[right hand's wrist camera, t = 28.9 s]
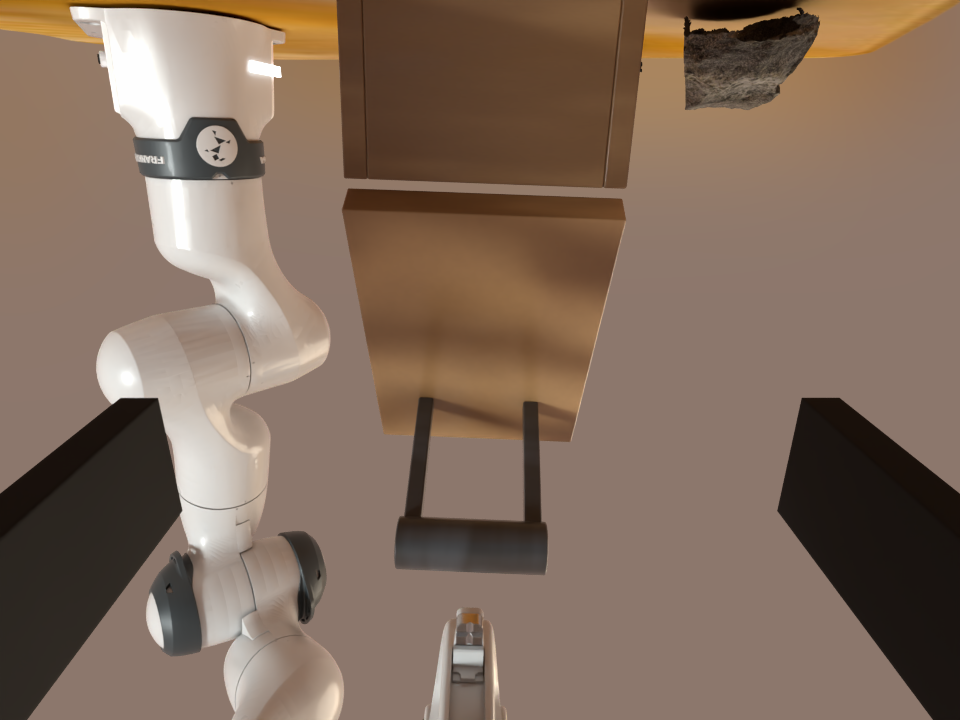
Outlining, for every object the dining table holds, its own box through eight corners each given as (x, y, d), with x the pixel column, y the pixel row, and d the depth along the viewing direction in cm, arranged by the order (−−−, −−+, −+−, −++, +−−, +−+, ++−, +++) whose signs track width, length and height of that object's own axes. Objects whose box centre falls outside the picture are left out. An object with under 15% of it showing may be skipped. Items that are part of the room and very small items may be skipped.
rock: (686, -6, 39) (673, 105, 41) (838, -12, 37) (815, 106, 39) (687, 26, 51) (677, 111, 53) (802, 23, 49) (786, 112, 51)
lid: (569, 422, 32) (581, 602, 26) (386, 414, 32) (358, 592, 26) (622, 198, 21) (662, 418, 16) (347, 187, 21) (284, 403, 16)
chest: (597, -66, 29) (577, 166, 33) (397, -73, 29) (399, 160, 33) (671, -207, 17) (626, 188, 21) (326, -218, 17) (343, 178, 21)
